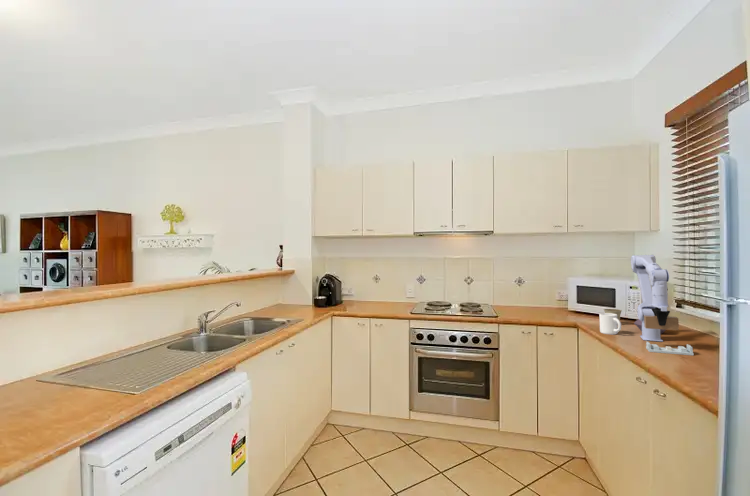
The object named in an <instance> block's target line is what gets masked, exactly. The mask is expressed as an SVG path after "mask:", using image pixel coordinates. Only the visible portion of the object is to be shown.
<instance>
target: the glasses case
mask: <svg viewBox="0 0 750 496" xmlns="http://www.w3.org/2000/svg"><path fill="white" fill-rule="evenodd" d="M679 325H680V324H679V317H677V316H669V315H668V317H667V320H666V324H665V326H661V325H659V323H658V319H657V316H646V315H644V327H645V328H648V329H665V331H667V330H668V331H669V330H670V331H680V326H679Z"/></svg>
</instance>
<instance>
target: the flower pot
mask: <svg viewBox="0 0 750 496" xmlns="http://www.w3.org/2000/svg"><path fill="white" fill-rule="evenodd" d="M603 312H604V313H612V314H617V319H618V320H619V321H620V322H621V320H620V319H621V314H622V312H623V310H622V309H618V308H617V309H616V308H604V309H603Z"/></svg>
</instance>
